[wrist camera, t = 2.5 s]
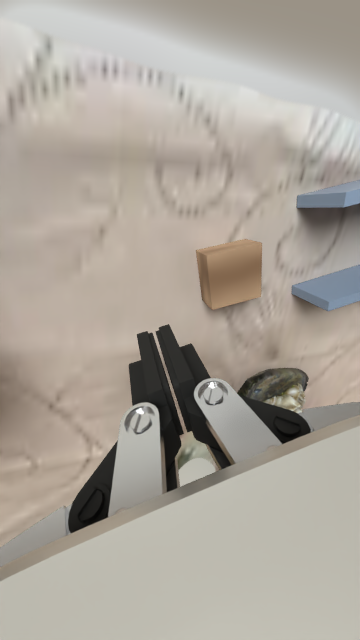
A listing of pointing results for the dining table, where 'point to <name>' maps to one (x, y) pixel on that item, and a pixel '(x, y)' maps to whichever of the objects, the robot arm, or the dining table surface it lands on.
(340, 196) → the box
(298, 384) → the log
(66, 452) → the dining table surface
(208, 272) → the cardboard shipping box
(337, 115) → the dining table surface
